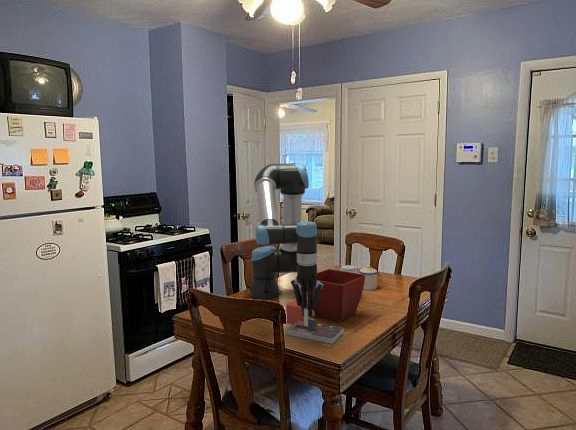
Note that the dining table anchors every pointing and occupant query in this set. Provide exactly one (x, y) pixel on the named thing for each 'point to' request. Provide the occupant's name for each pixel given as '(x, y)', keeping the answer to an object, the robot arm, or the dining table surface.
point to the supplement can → (349, 268)
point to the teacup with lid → (369, 278)
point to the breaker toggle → (312, 324)
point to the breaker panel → (315, 332)
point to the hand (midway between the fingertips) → (307, 324)
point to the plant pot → (338, 294)
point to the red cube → (294, 312)
